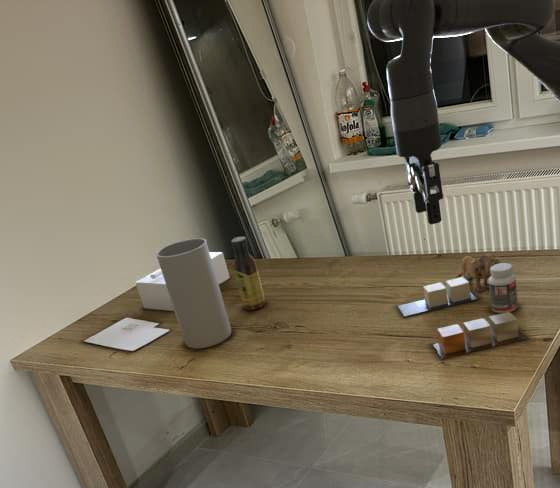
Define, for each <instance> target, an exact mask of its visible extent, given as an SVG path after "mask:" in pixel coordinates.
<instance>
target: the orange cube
mask: <svg viewBox="0 0 560 488" xmlns="http://www.w3.org/2000/svg"><path fill="white" fill-rule="evenodd" d="M436 330H437V331H436V332H437V340H438V343H439V346H440V348H441V349H442V350H443V352H444V353H445V354H449V353H453V352H457V351H461V350H466V345H465V337H464V329H462V328H461V326H460V325H459V324H458V323H456V324H452V325H448V326H444V327H439V328H437V329H436Z"/></svg>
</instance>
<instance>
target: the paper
mask: <svg viewBox="0 0 560 488" xmlns="http://www.w3.org/2000/svg"><path fill="white" fill-rule="evenodd" d="M158 325H160V322H159V323H158V322H153V321H148V320H143V319H138V318H137V319H136V318H132V317H125V318H123V319H121V320H119V321H116V323H114V324H112V325H109V326H108V327H107V328H105V329H102V330H101V331H100V332H97V333H96V334H94V335H92V336H90V337H88V338H86V339H85V340H83V342H85V343H90V344H94V345H100V346H104V347H107V348H108V347H109V348H113V349H118V350H124V351H130V352H134V351H136V350H137V349H139V348H141V347H143V346H145V345H147V344H149V343H150V342H151V343H152V341H154V340H156V339H157V338H159V337H162V336H163V335H165V334H166V333H168V332H169V331H170V329H167V328H160V327H157V326H158Z"/></svg>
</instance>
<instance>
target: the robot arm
mask: <svg viewBox="0 0 560 488" xmlns="http://www.w3.org/2000/svg"><path fill="white" fill-rule="evenodd" d="M555 3H556V2H555V0H373V1H371V3H370V5H369V7H368V10H367V14H366V16H367V17H366V21H367V23H366V24H367V26H368V30H369V31H370V32H371V34H372V35H373V36H374V37H375V38H376V39H377V40H379V41H382V42H387V43H389V42H399V41H402V44H401V50H400V55H398V56H396V57H394V58H393V59H391V60H390V61H388V62H387V64H386V71H385V72H386V80H387V88H388V94H389V102H390V119H391V125H392V131H393V137H394V144H395V151H396V155H397V157H400V158H403V159H404V165H405V172H406V181H407V186H408V187H410V188H409V189H410V191H411V193H412V197H413V203H414V210H415V213H417V214H421V213H426V219H427V223H428V224H429V225H436V224H440V223H441V222H442V220H443V219H442V212H441V205H440V204H441V203H440V201H441V200H443V199H444V193H443V186H442V179H441V171H440V164H439V162H436V161H433V158H432V154H433V152H436V151H438V150H440V148H441V147H442V137H441V128H440V120H439V113H438V112H439V111H438V104H437V100H436V99H437V98H436V96H435V91H434V84H433V75H432V68H431V60H432V52H433V42H434V38H450V37H459V36H464V35H468V34H471V33H475V32H480V31H482V30H485V32H486V33H487V35H488V37H489V38H490V39H491V41H492V42H493V43H494V44H495V45H496V46H498V48H500V49H501V50H502V51H504V53H506V54H507V55H508V56H510V57H511V58H512V59H513V60H515V61H516V62H517V63H519V64H520V65H521V66H522V67H524V68H525V69H526V70H527V71H528V72H529V73H530V74H531V75H532V76H533V77H534V78H535V79H536V80H537V81H538V82H539V83H540V84H541V85H542V86H543V87H544V89H546V90H547V91H548V92H549V94H550V95H551V96H552V97H553V98H554V99H555V100H556V102H557V103H558V104H560V41H557V40H553V39H551V38H547V37H546V36H543V35H541V34H539V32H542V30H544V29H545V28H546V27H547V26H549V24H550V23H551V22H552V20H553V19H554V14H555V9H556V4H555ZM431 191H433V192H434V193H431Z"/></svg>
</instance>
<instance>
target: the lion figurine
mask: <svg viewBox="0 0 560 488" xmlns="http://www.w3.org/2000/svg"><path fill="white" fill-rule="evenodd" d="M500 263H502V262H501V260H500V259H496V257H494V254H493V253H488V254H487V253H486V254H484V255H482V256H480V257H479V258H476V259H474V257H472V256H469V255H466V256H464V257H463V258H462V260H461V270H462V271H461V273H460V274H458V275H457V276H456V277H457V278H460V277H464V278H465V279H466V280H467V279H469V280H470V279H473V277H474V279H475V284H476V291H477V292H483V287H484V288H487V289H489V283H488V281H489V279H490V277H491V276H492V275H491V273H490V268H491V267H492V266H494V265H496V264H500ZM481 280H483V287H482V285H481Z"/></svg>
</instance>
